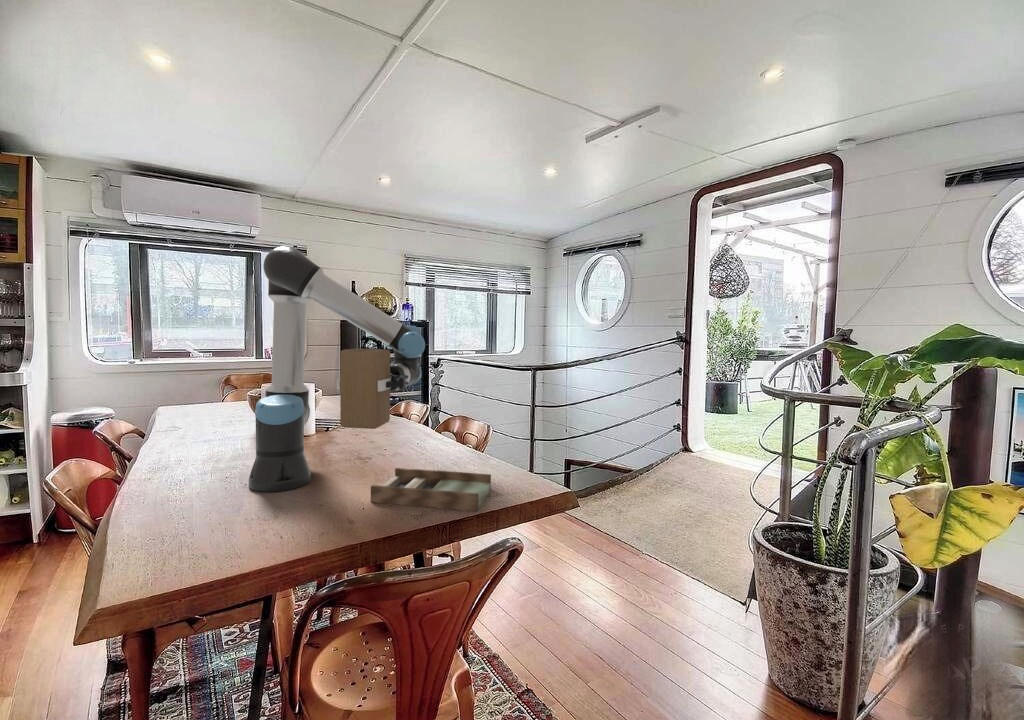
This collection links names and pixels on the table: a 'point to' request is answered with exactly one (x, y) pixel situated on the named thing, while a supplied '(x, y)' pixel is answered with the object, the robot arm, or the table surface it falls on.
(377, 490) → the box
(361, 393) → the block
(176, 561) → the table surface
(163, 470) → the table surface
